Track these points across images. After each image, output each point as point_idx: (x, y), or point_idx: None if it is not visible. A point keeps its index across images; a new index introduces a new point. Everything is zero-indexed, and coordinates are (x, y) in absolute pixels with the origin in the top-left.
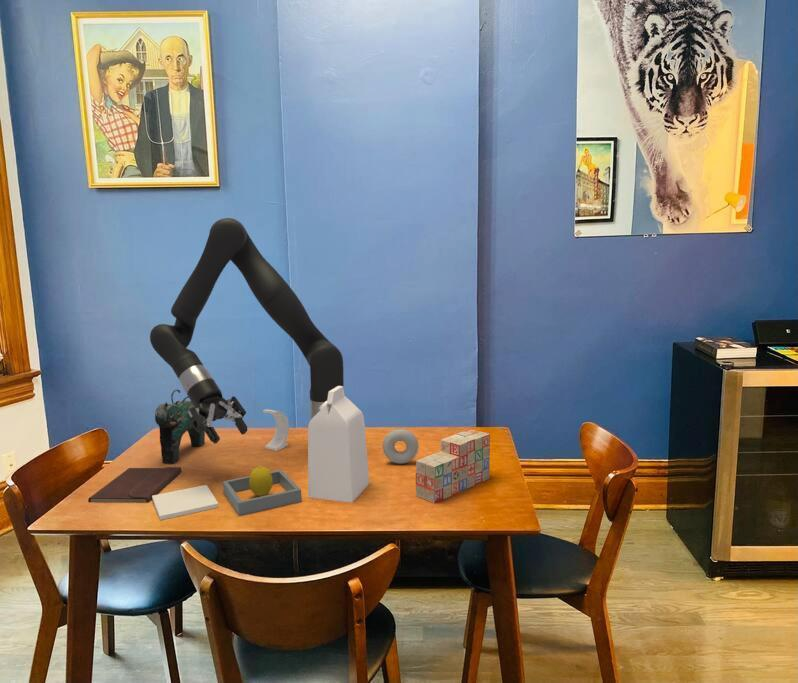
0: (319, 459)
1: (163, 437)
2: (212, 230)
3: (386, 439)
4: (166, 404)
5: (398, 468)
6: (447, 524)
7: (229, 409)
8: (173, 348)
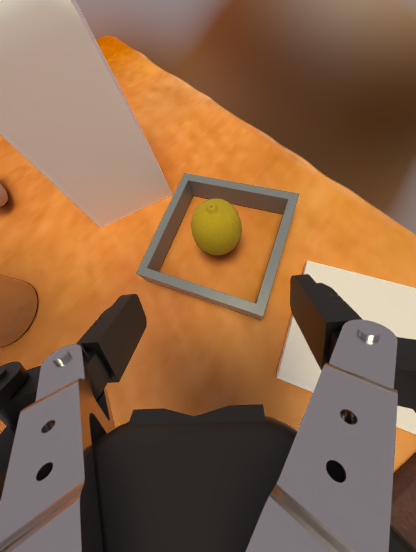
0: (131, 113)
1: None
2: None
3: None
4: None
5: (23, 188)
6: (139, 63)
7: (64, 421)
8: None
